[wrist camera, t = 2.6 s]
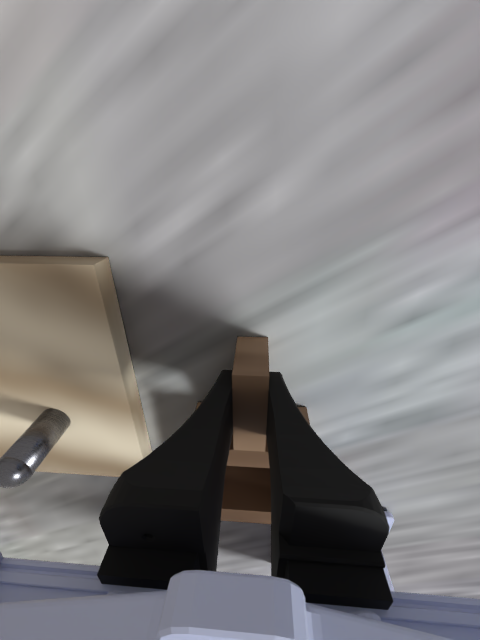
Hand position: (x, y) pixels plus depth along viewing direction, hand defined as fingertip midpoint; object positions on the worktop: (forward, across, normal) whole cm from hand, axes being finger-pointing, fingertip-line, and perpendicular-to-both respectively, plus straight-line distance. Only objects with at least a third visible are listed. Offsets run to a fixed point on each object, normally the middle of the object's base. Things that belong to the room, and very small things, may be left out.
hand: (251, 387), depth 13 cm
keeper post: (0, +11, +3) cm, 11 cm away
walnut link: (+1, 0, +3) cm, 4 cm away
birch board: (+1, +12, +1) cm, 12 cm away
